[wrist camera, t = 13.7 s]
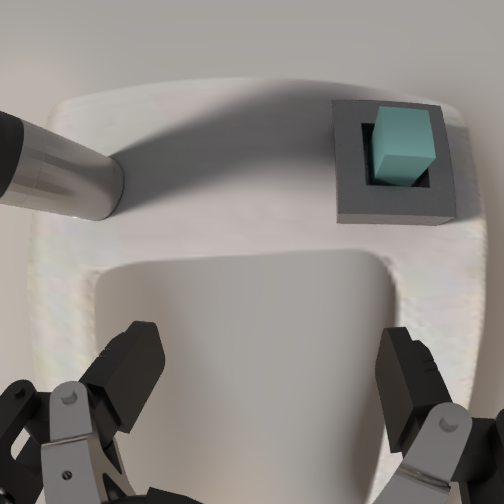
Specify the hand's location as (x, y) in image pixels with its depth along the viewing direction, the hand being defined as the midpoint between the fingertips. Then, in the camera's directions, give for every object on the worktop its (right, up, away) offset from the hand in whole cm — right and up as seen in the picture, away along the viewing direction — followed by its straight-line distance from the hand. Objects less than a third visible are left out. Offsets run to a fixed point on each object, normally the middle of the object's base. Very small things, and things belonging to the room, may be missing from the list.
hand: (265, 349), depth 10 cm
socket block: (+14, +12, +19) cm, 26 cm away
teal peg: (+13, +12, +18) cm, 26 cm away
